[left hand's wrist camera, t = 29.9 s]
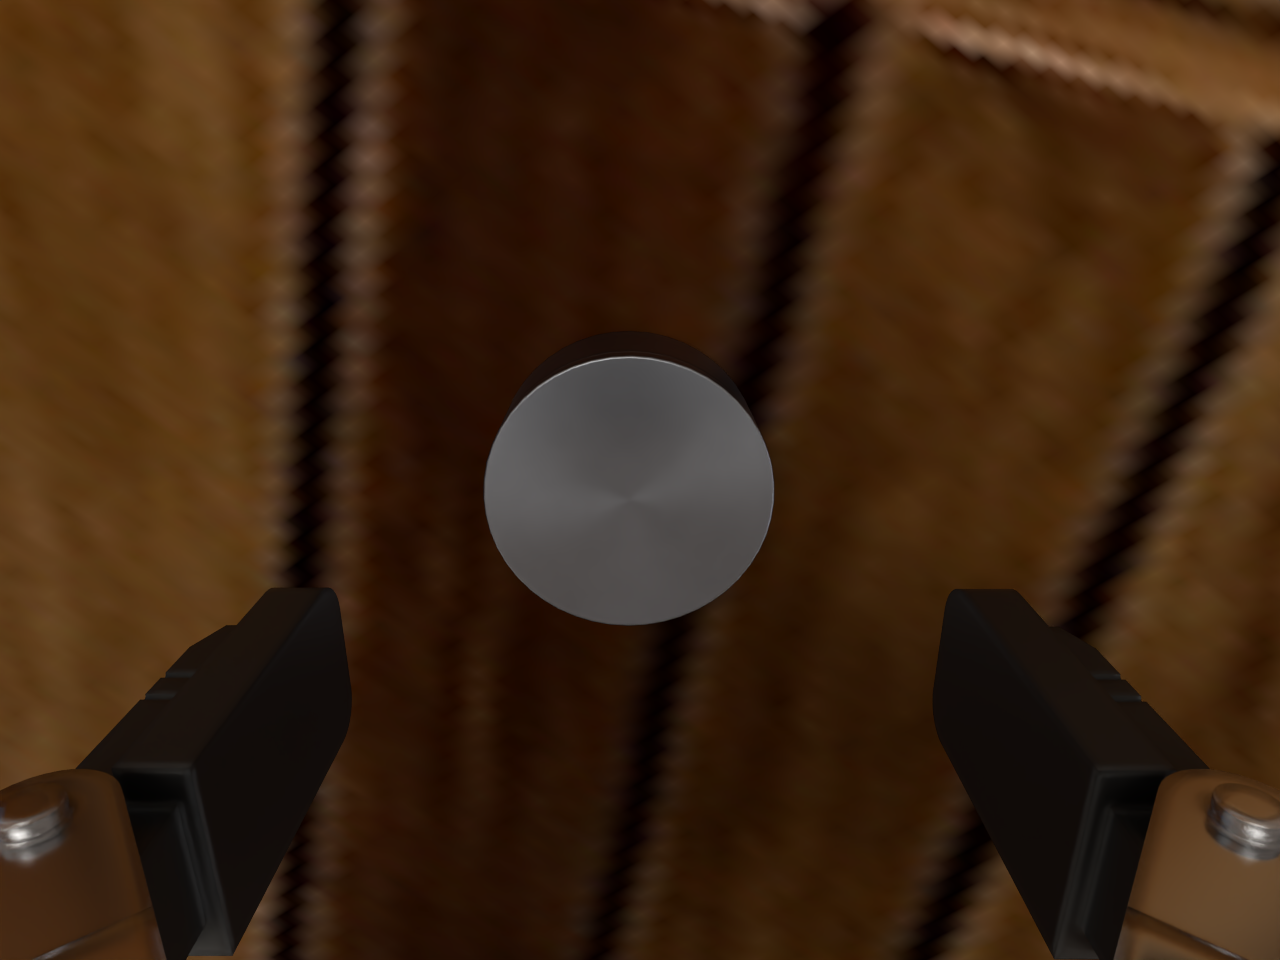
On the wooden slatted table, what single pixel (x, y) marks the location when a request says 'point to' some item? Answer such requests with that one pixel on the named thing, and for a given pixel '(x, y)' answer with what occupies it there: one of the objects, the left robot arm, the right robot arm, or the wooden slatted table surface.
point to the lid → (628, 480)
